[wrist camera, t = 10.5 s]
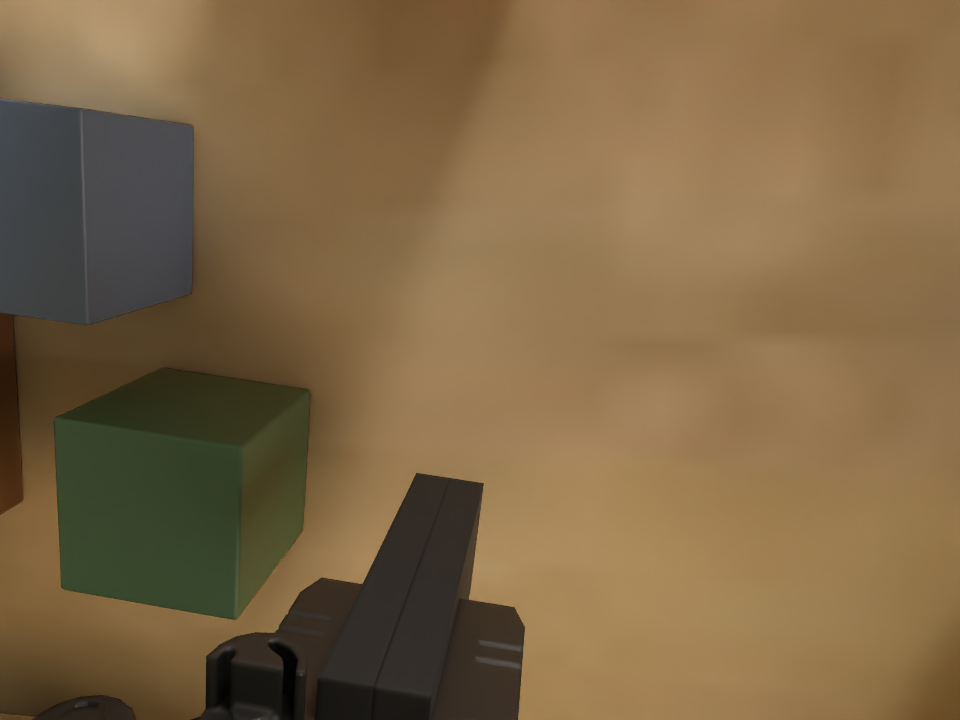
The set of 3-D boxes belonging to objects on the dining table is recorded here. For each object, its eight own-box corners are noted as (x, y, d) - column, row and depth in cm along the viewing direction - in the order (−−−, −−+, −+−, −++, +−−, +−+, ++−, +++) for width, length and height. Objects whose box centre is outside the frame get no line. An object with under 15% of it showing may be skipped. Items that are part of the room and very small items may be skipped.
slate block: (194, 124, 16) (80, 107, 12) (192, 293, 17) (88, 326, 13) (33, 106, 17) (-126, 84, 13) (41, 272, 18) (-104, 298, 14)
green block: (312, 388, 18) (242, 447, 14) (303, 530, 19) (236, 622, 15) (161, 366, 18) (51, 417, 14) (161, 507, 19) (59, 590, 15)
